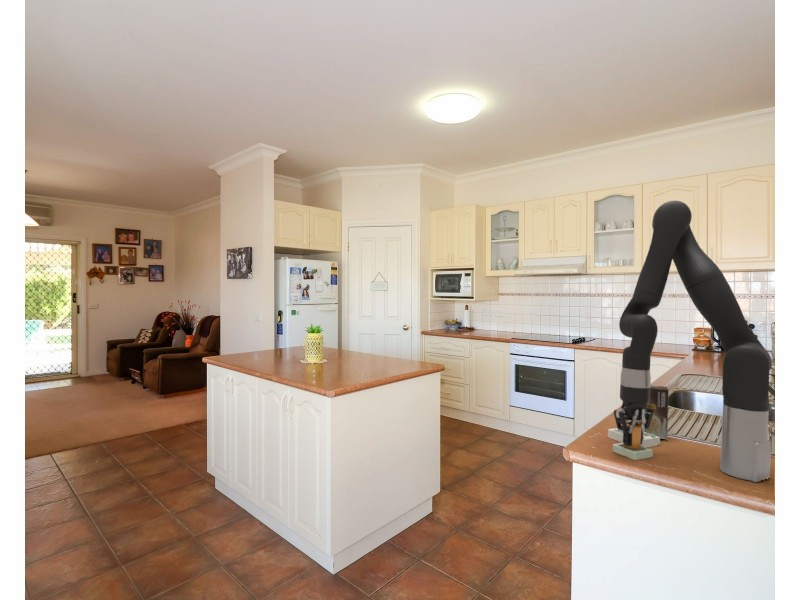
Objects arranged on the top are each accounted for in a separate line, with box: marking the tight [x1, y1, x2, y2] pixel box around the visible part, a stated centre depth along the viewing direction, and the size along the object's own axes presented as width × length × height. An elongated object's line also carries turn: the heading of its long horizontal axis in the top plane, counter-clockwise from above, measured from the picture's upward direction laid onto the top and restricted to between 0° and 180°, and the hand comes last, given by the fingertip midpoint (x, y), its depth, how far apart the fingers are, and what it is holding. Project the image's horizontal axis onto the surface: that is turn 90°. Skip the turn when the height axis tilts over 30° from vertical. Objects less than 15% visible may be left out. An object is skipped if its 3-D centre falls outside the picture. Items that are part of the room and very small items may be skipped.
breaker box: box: [607, 427, 661, 448], centre depth 138 cm, size 11×9×3 cm
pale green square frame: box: [612, 442, 654, 461], centre depth 126 cm, size 7×7×2 cm
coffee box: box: [644, 384, 669, 441], centre depth 144 cm, size 9×6×16 cm
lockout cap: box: [624, 424, 641, 450], centre depth 126 cm, size 4×4×6 cm
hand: (632, 444), depth 126 cm, fingers closed on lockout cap, 3 cm apart
